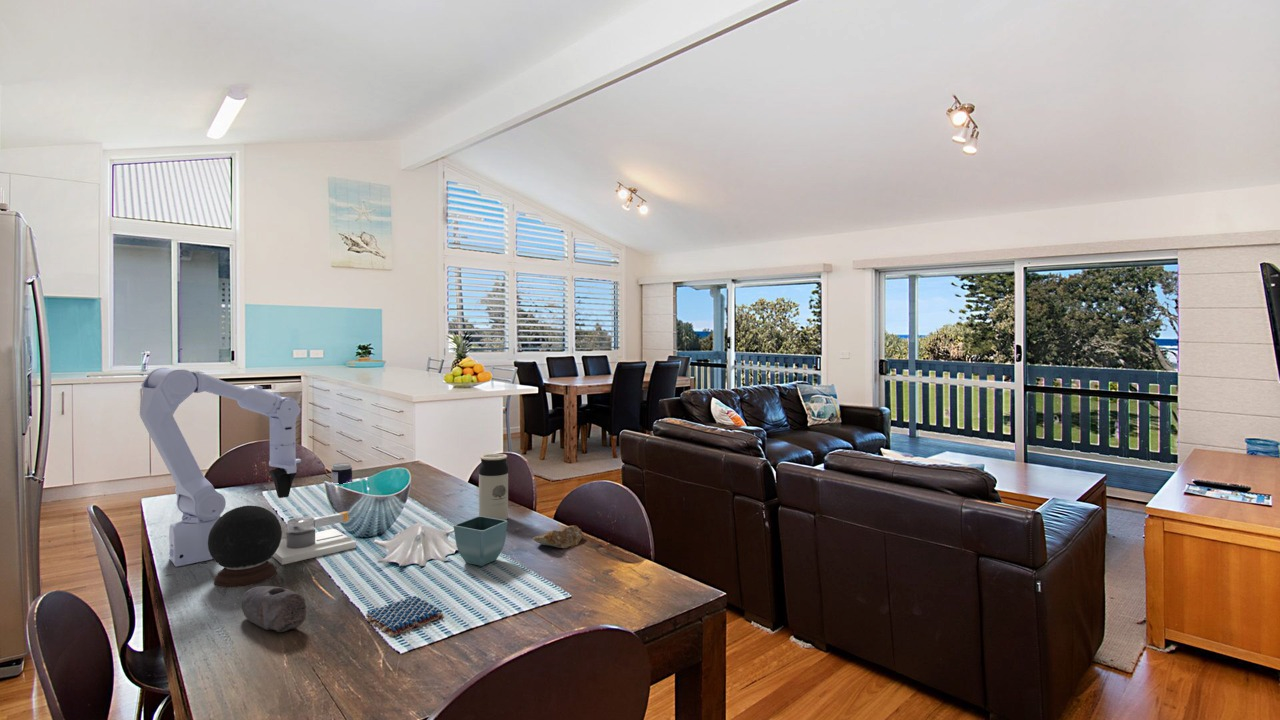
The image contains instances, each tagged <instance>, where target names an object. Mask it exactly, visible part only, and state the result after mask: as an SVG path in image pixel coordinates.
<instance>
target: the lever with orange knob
mask: <svg viewBox="0 0 1280 720" xmlns="http://www.w3.org/2000/svg"><path fill="white" fill-rule="evenodd" d="M347 512H348V511H341V512H337V513H333V514H332V513H331V514H327V515H323V516H315V517H310V516H302V517H296V518H292V519H289V520H287V522H286V523H287V524H286V525H287V527H286V528H287V529H286V530H287V532H286V533H289V534H303V533H308V532H311V531H313V530H314V529H315V528H320V527H325V526H331V525H335V524H340V523H347V522H349V521H350V515H349V516H348V513H347Z"/></svg>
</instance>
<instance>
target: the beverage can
mask: <svg viewBox="0 0 1280 720" xmlns="http://www.w3.org/2000/svg"><path fill="white" fill-rule="evenodd" d="M330 471H331V472H330V473H331V482H333V483H339V484H343V483H348V482H352V483H353V467H352V465H351V463H350V462H340V463H334V464H332V467H331V469H330Z"/></svg>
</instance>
